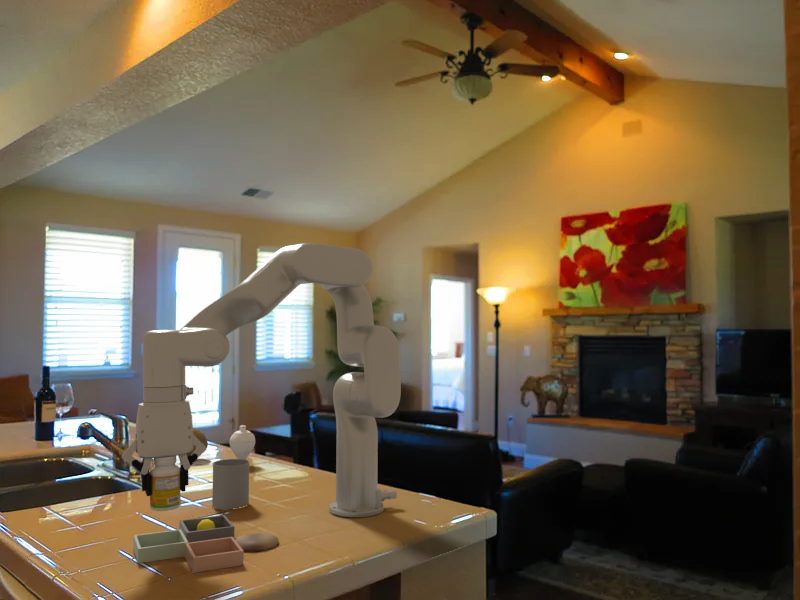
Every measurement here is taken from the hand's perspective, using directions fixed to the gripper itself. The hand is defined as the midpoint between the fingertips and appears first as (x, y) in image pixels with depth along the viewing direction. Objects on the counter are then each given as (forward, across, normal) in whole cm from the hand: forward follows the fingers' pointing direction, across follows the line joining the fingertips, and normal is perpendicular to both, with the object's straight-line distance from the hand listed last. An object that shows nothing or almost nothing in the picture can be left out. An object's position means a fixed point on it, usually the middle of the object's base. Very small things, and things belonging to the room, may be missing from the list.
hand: (165, 491), depth 124 cm
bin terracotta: (+11, -7, +9) cm, 16 cm away
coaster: (+12, -16, +3) cm, 20 cm away
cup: (+12, -18, -27) cm, 34 cm away
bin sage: (+11, +1, 0) cm, 11 cm away
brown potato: (+12, -19, -85) cm, 88 cm away
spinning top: (+13, -31, -70) cm, 77 cm away
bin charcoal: (+11, -8, -6) cm, 15 cm away
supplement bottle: (+3, 0, 0) cm, 3 cm away
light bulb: (+12, -8, -7) cm, 16 cm away
